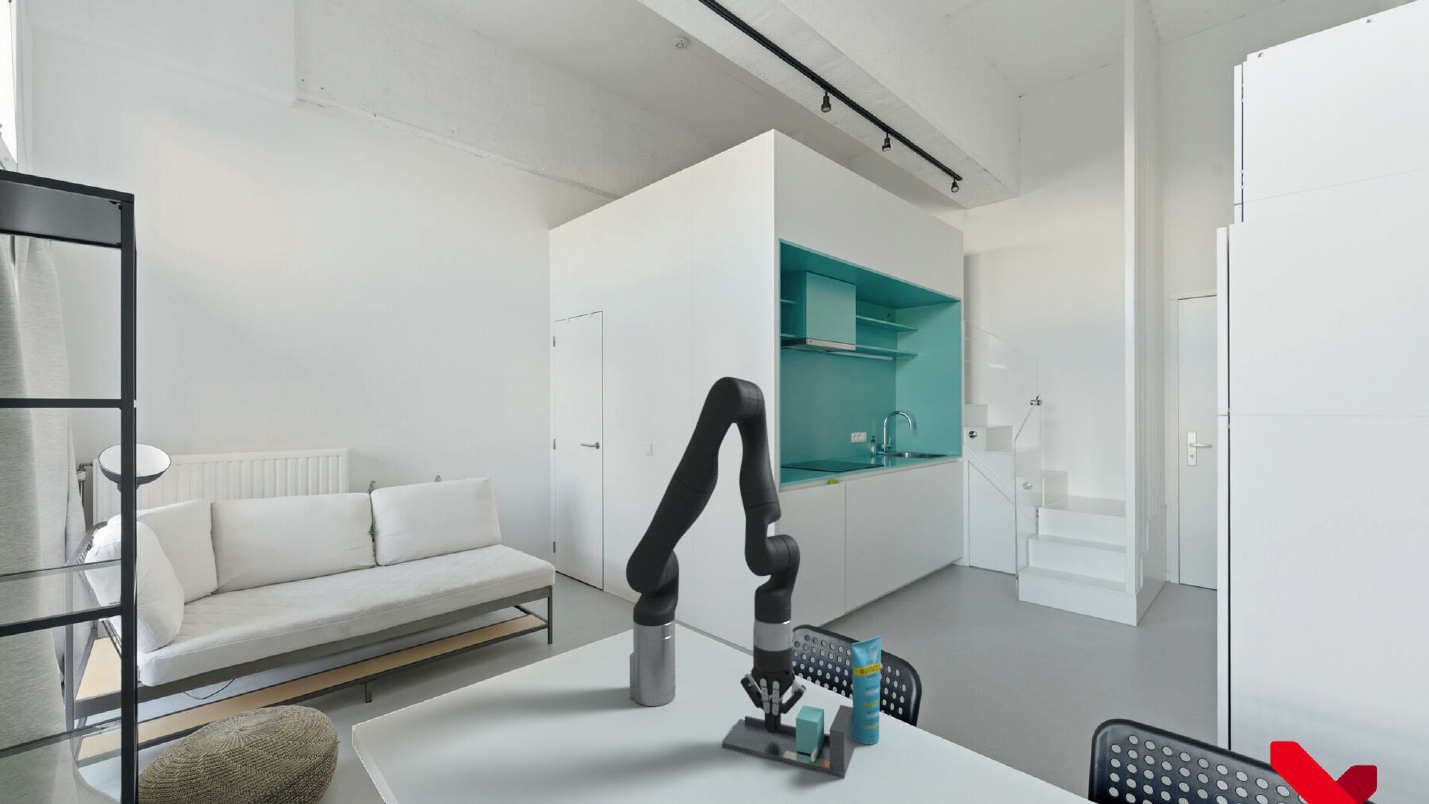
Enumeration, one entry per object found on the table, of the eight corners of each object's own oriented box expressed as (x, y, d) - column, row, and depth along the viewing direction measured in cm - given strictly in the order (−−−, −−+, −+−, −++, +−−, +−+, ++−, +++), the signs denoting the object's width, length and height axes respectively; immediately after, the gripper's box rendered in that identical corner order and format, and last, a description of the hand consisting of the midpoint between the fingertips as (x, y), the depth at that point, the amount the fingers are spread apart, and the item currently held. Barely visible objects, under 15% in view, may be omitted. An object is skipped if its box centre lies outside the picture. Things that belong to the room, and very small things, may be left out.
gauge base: (722, 747, 113) (722, 705, 113) (739, 723, 121) (739, 684, 121) (844, 778, 103) (843, 732, 103) (854, 750, 112) (853, 707, 112)
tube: (862, 750, 112) (861, 647, 112) (843, 738, 116) (843, 639, 116) (889, 737, 116) (888, 638, 116) (870, 726, 120) (869, 630, 120)
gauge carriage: (792, 757, 107) (792, 724, 107) (803, 736, 114) (803, 705, 114) (814, 762, 106) (814, 729, 106) (824, 741, 112) (824, 709, 112)
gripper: (733, 642, 113) (733, 733, 113) (801, 654, 108) (801, 750, 108) (747, 628, 120) (747, 714, 120) (811, 639, 115) (811, 728, 115)
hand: (772, 731), depth 114 cm, fingers closed
